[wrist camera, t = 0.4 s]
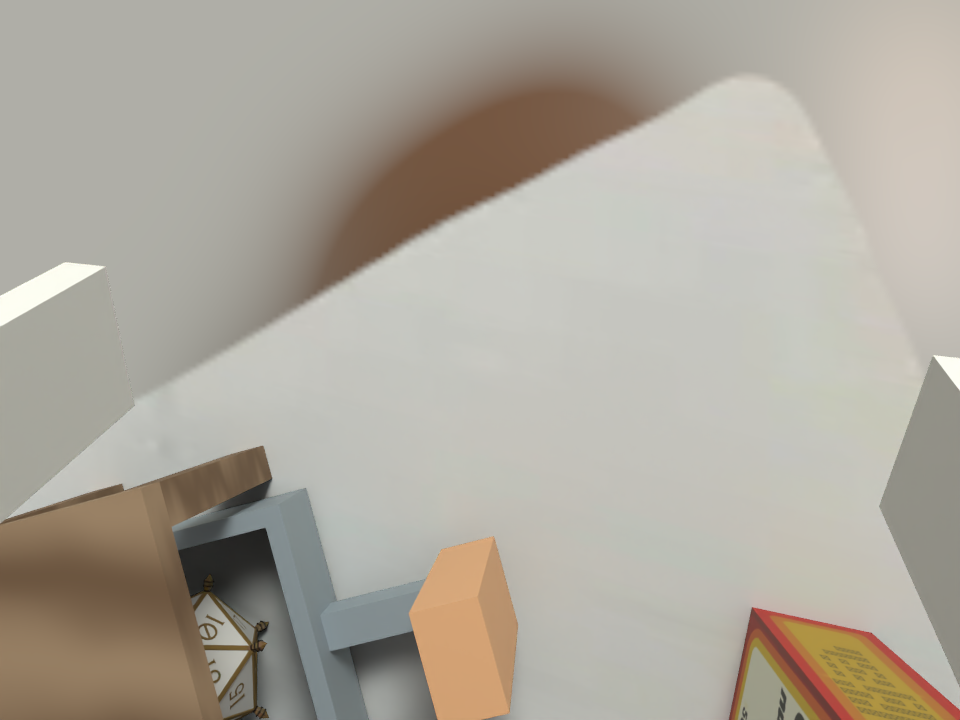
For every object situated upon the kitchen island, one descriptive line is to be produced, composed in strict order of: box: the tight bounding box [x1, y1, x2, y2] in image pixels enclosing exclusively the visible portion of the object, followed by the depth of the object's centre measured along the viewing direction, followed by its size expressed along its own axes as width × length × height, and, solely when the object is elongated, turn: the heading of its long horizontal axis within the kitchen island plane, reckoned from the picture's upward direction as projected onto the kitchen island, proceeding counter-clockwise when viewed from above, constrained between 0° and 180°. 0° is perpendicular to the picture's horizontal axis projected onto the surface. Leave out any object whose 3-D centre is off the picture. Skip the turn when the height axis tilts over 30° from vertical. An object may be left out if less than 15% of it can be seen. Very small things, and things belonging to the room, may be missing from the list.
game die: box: [191, 574, 269, 720], centre depth 41 cm, size 9×8×10 cm
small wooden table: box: [0, 446, 272, 720], centre depth 38 cm, size 21×11×14 cm, turn 15°
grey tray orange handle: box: [172, 488, 518, 720], centre depth 38 cm, size 15×25×12 cm, turn 105°
